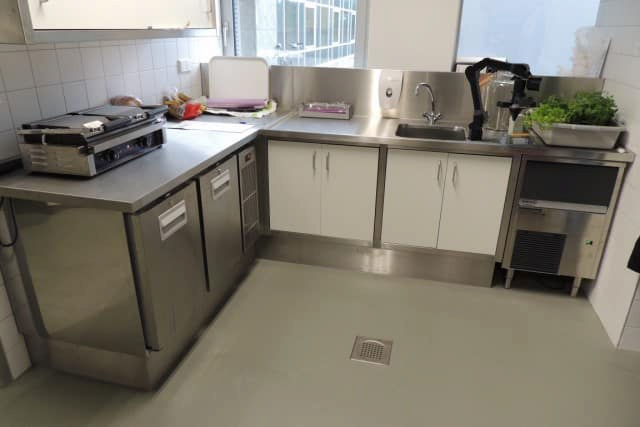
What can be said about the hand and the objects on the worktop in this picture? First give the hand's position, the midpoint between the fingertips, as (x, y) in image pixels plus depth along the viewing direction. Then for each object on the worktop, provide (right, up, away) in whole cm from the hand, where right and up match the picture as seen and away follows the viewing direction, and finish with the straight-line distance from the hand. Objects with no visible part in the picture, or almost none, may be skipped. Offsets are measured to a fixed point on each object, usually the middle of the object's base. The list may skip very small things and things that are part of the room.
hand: (513, 121), depth 238 cm
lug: (+10, -12, +4) cm, 16 cm away
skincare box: (+10, -4, +24) cm, 26 cm away
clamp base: (+5, -11, +7) cm, 14 cm away
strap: (+4, -7, +6) cm, 10 cm away
